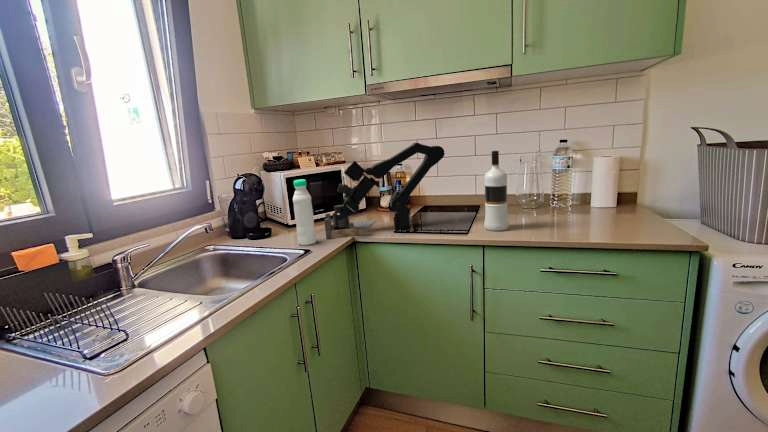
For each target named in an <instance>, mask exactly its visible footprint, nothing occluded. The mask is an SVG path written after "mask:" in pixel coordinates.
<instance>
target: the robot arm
mask: <svg viewBox="0 0 768 432" xmlns="http://www.w3.org/2000/svg"><path fill="white" fill-rule="evenodd" d="M417 154H422V155H424V157H423V161H422V162H421V164H419V166H418V167H417V168H416V170H415V171H414V173H412V175H411V177H410V178H409V179H408V181H407V182H406V183H405V185H404V186H403V187H402V188H401V189H400V190H397V189H395V190H394V191H393V194H392V195H390V197H389V198H390V200H389V205H390V208H391V209H392V210H393V211H394V212H395V213H394V216H393V225H394V226H393V227H394V230H398V229H399V230H406V229H407V230H408V229H409V230H410V229H411V228H412V227H413V223H412V217H411V216H412V215H411V214H412V213H411V208H410V207H409V206H408V205H407V203H408V201H409V198H410V197H411V195H412V193H413V192H414V191H415V189H416V188H417V187H418V185H419V184H420V183H421V181H422V180H423V179H424V177H426V175H427V173H429V171H430V170H431V169H432V167H434V166H435V165H436V164H438V163H439V162H440V161H441V160H442V159H443V158H444V157H445V150H444V148H443V147H442V146H440V145H431V146H430V145H426V144H422V143H419V142H413V143H412V144H411V145H409V146H407V147H406V148H404V149H403V150H401V151H399V152H397V153H396V154H395V155H393V156H391V157H389V158H388V159H384V160H382V161H379V162H376V163H374V164H372V165H371V167H370V166H369V167H366V168H363V167H362V166H361V165H360V164H359V163H358V162H357V161H356V160H353V162H351V164H350V165H349V166H347V168H346V169H345V170H344V172H343V174H344V175H345V176H347V178H349V179H350V180H352V181H353V182H358V183H357V184H356V185H354V186H353V187H351V186H349V185H348V184H345V183H344V184H343V183H339V184H338V187H337V193H340V194H343V198H342V199H343V204H342V205H344V208H343V210H342V212H341V214H340V215H339V217H338V220H339V221H340V220H342V219H344V218H346V217H348V216H349V217H350V216H352V215H353V214H354V215H355V214H356V213H358V211H359V210H360V205H361V202H362V201H363V200H364V198H367V195H368V194H369V193H370V191H372V190H373V188H374V187H375V186H376V187H377V188H380V180H379V179H382V178H383V177H385V176H386V175H387V174H388V173H389V172H390V171H391V170H392V169H393V168H394V167H396V166H398V165H399V164H401V163H403V162H404V161H406V160H407V159H409V158H411V157H413V156H414V155H417ZM368 176H369V177H368ZM376 179H378V180H376Z"/></svg>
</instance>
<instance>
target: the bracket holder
mask: <svg viewBox="0 0 768 432" xmlns="http://www.w3.org/2000/svg"><path fill="white" fill-rule="evenodd" d="M324 216H325V218H324V221H323V222H324V229H325V230H324V231H325V237H326V238H325V240H331V239H338V238H349V236H350V237H357V236H358V230H357V229H358V228H356V226H354V224H353V223H350V229H342V230H334V225H333V224H332V218H331V216H332V215H331V213H330V212H329V213H325V215H324Z"/></svg>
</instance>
